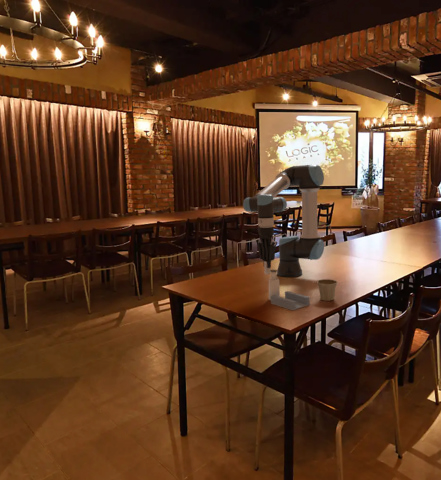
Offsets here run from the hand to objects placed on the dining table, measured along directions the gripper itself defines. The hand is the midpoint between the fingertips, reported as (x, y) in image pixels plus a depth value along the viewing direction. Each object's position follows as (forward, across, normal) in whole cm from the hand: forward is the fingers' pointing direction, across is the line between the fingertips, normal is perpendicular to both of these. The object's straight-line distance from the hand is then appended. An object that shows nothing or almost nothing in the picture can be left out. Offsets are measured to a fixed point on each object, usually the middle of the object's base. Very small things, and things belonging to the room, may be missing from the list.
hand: (267, 273), depth 193 cm
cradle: (+12, +15, 0) cm, 19 cm away
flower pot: (+12, +22, +18) cm, 31 cm away
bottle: (+12, +4, 0) cm, 13 cm away
